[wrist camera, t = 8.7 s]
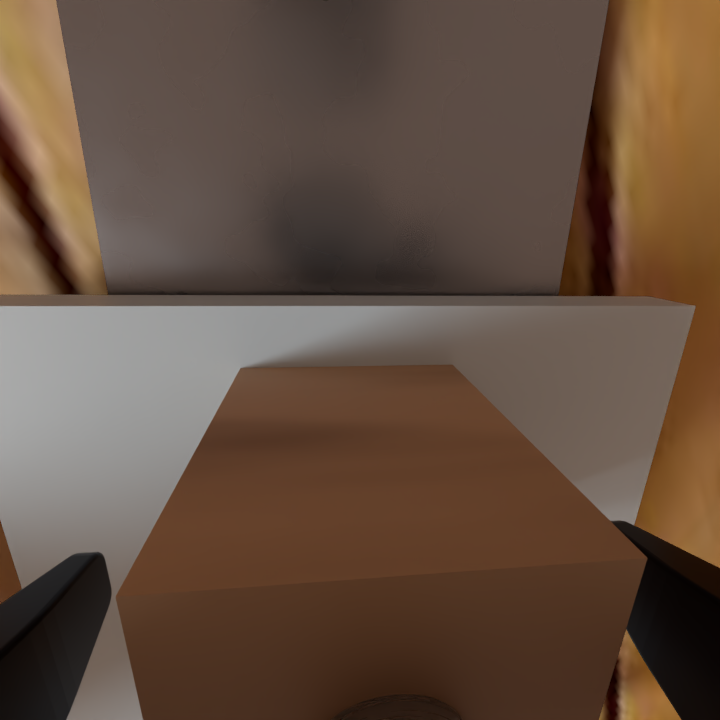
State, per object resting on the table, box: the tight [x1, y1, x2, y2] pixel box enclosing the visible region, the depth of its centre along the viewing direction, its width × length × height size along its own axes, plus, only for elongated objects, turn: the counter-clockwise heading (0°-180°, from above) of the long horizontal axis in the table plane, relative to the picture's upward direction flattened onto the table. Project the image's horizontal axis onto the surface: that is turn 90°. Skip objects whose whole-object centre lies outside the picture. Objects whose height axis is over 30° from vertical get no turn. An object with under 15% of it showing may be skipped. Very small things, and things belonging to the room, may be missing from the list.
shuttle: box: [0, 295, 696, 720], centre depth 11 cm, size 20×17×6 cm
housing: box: [116, 365, 647, 720], centre depth 6 cm, size 5×5×8 cm
